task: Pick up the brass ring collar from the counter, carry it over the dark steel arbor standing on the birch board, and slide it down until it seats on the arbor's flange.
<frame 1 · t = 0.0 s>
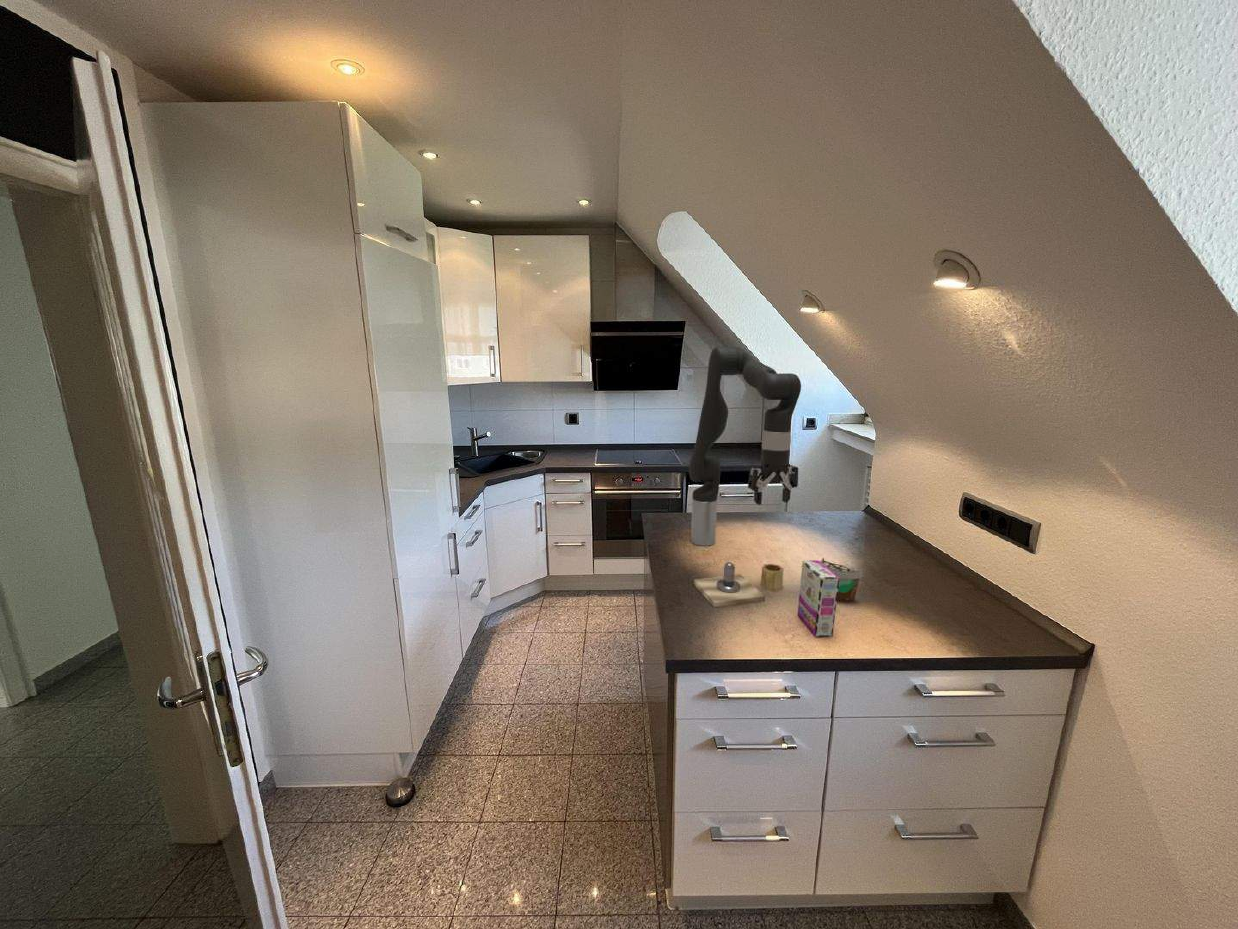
hand: (771, 503, 137), 29 cm above the countertop, fingers open, 8 cm apart
collar: (771, 585, 151), on the countertop
candy bar box: (814, 626, 129), on the countertop
board: (728, 592, 147), on the countertop
food container: (833, 598, 144), on the countertop
arbor: (728, 575, 145), on the board, point 6 cm above the countertop
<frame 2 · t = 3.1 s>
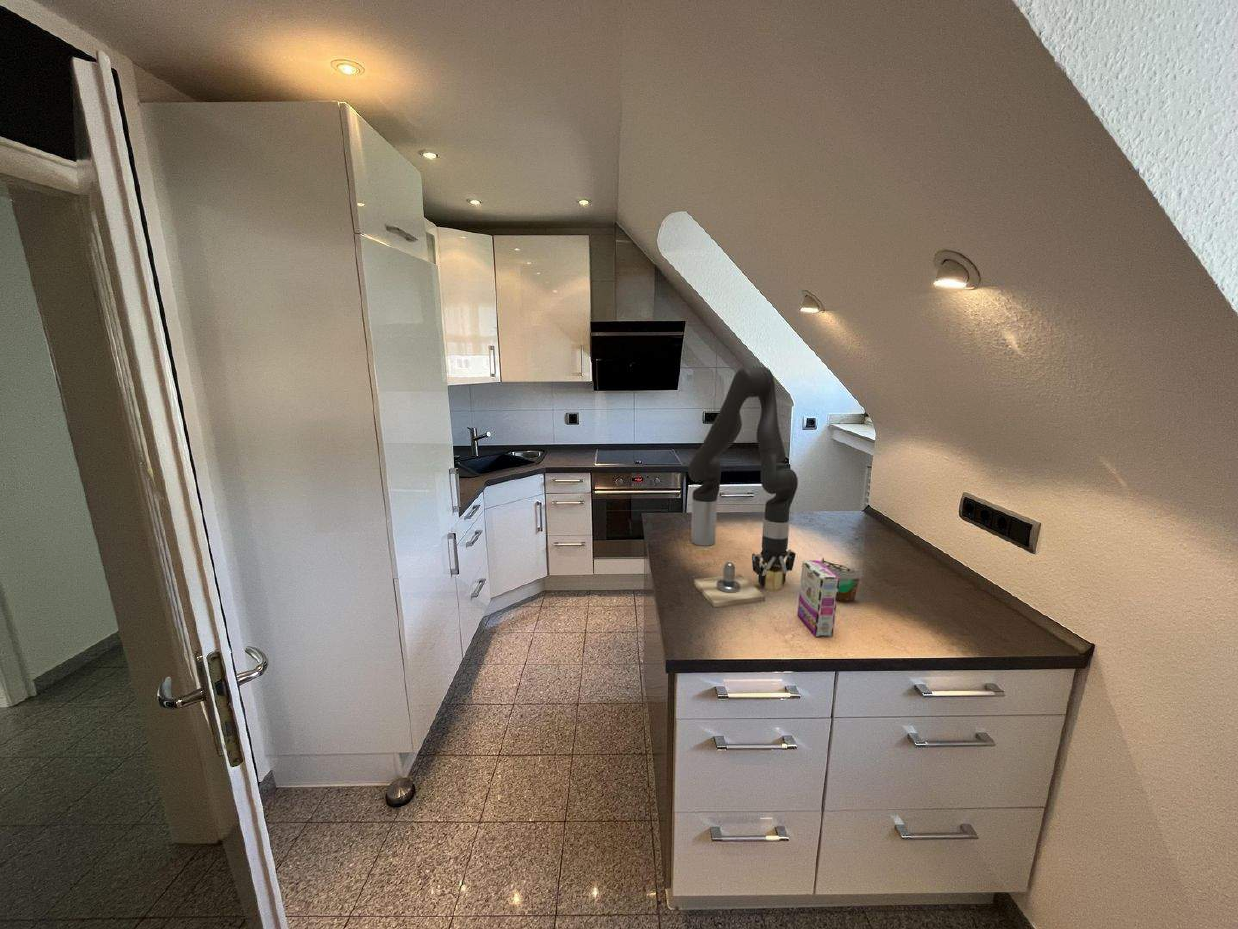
hand: (771, 584, 150), 1 cm above the countertop, fingers closed on collar, 6 cm apart
collar: (771, 585, 151), on the countertop, touching gripper
everything else where it was.
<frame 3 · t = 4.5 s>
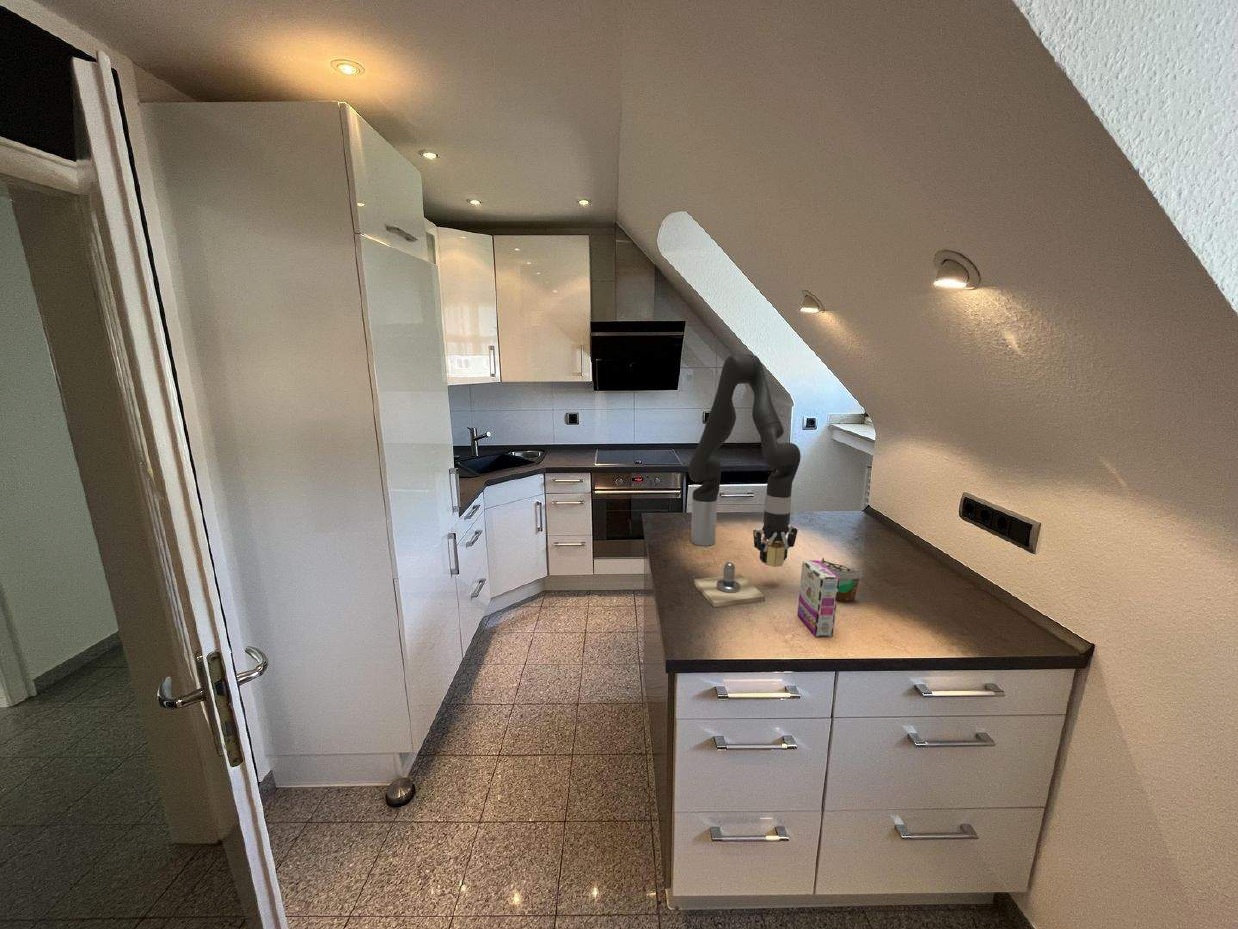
hand: (772, 560, 149), 8 cm above the countertop, fingers closed on collar, 6 cm apart
collar: (772, 562, 149), point 8 cm above the countertop, touching gripper
everything else where it was.
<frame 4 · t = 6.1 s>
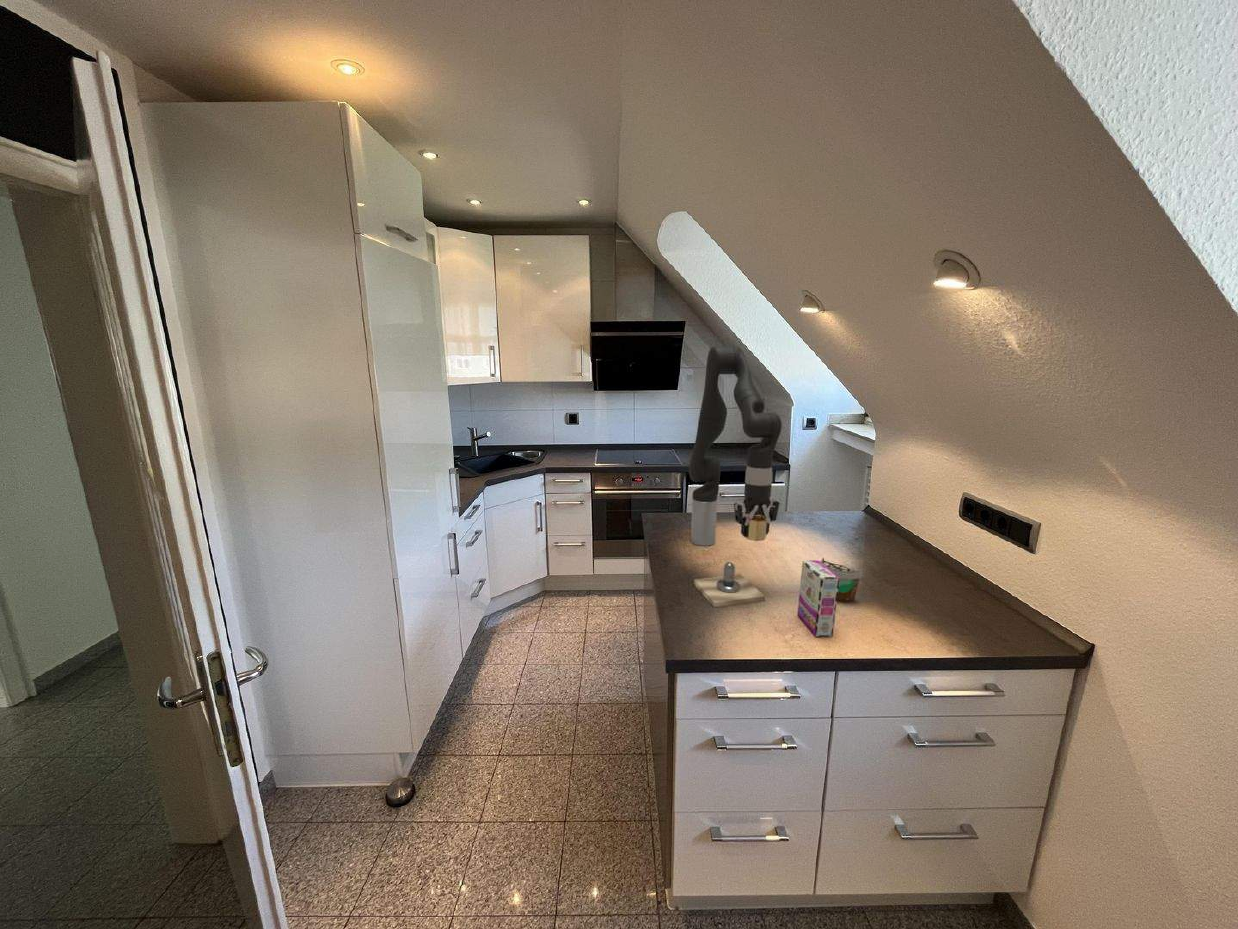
hand: (754, 535, 145), 18 cm above the countertop, fingers closed on collar, 6 cm apart
collar: (754, 537, 145), point 17 cm above the countertop, touching gripper
everything else where it was.
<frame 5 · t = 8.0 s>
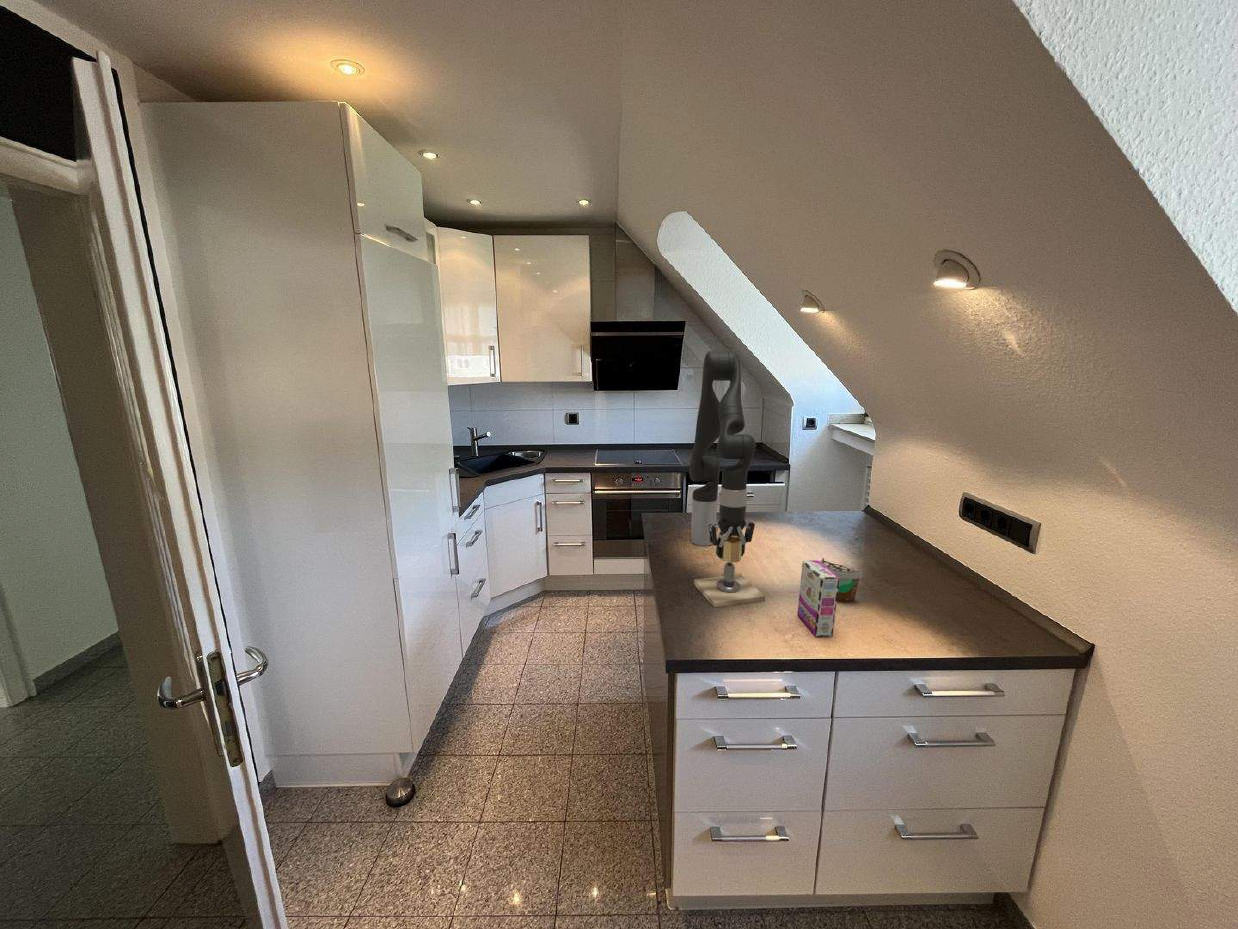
hand: (730, 556, 144), 12 cm above the countertop, fingers closed on collar, 6 cm apart
collar: (730, 558, 144), point 11 cm above the countertop, touching gripper
everything else where it was.
when the fingers open (8 cm above the countertop, at t = 9.5 s): collar drops 4 cm, resting on arbor.
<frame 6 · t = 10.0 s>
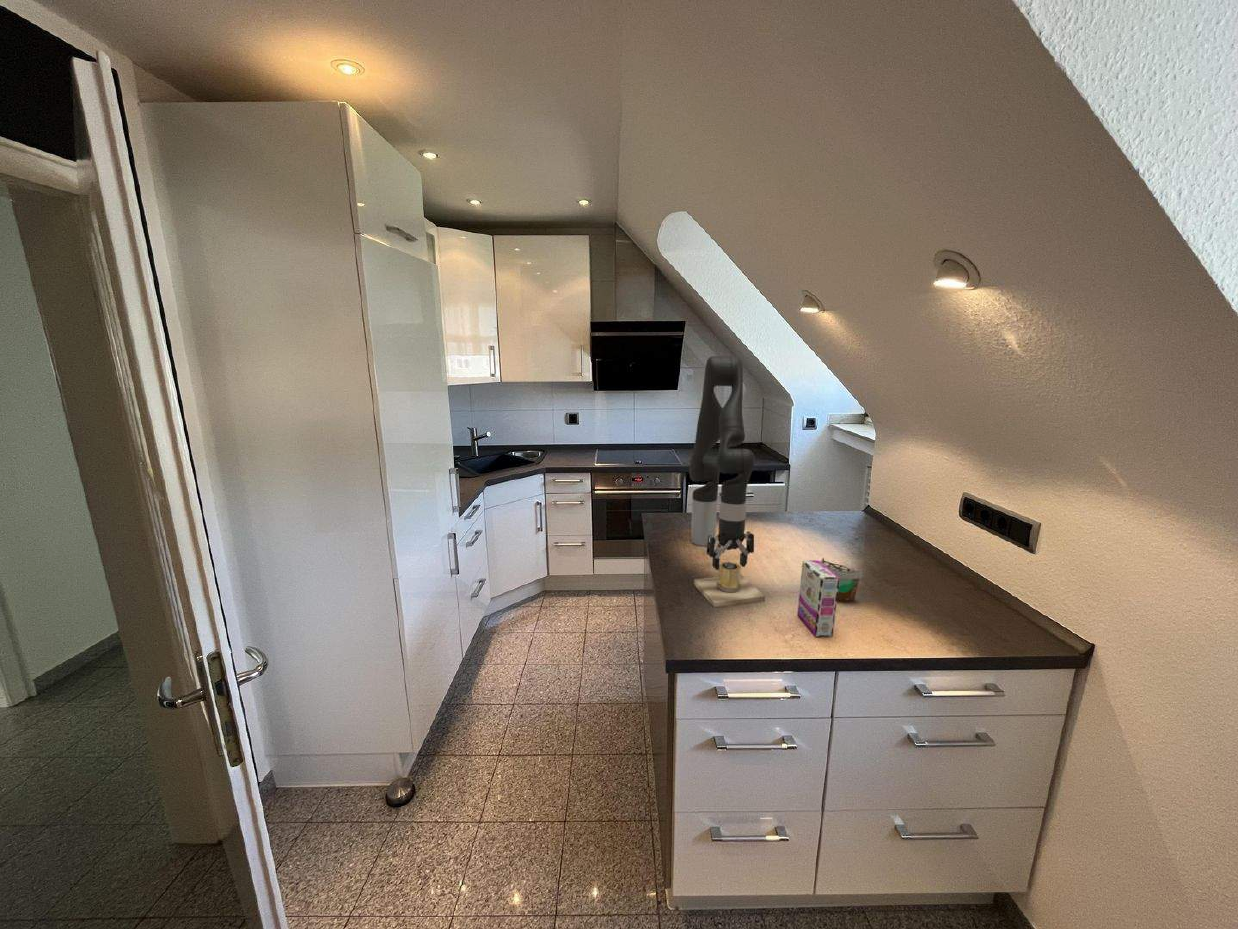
hand: (729, 567, 145), 8 cm above the countertop, fingers open, 8 cm apart
collar: (728, 584, 146), point 2 cm above the countertop, touching arbor
everything else where it was.
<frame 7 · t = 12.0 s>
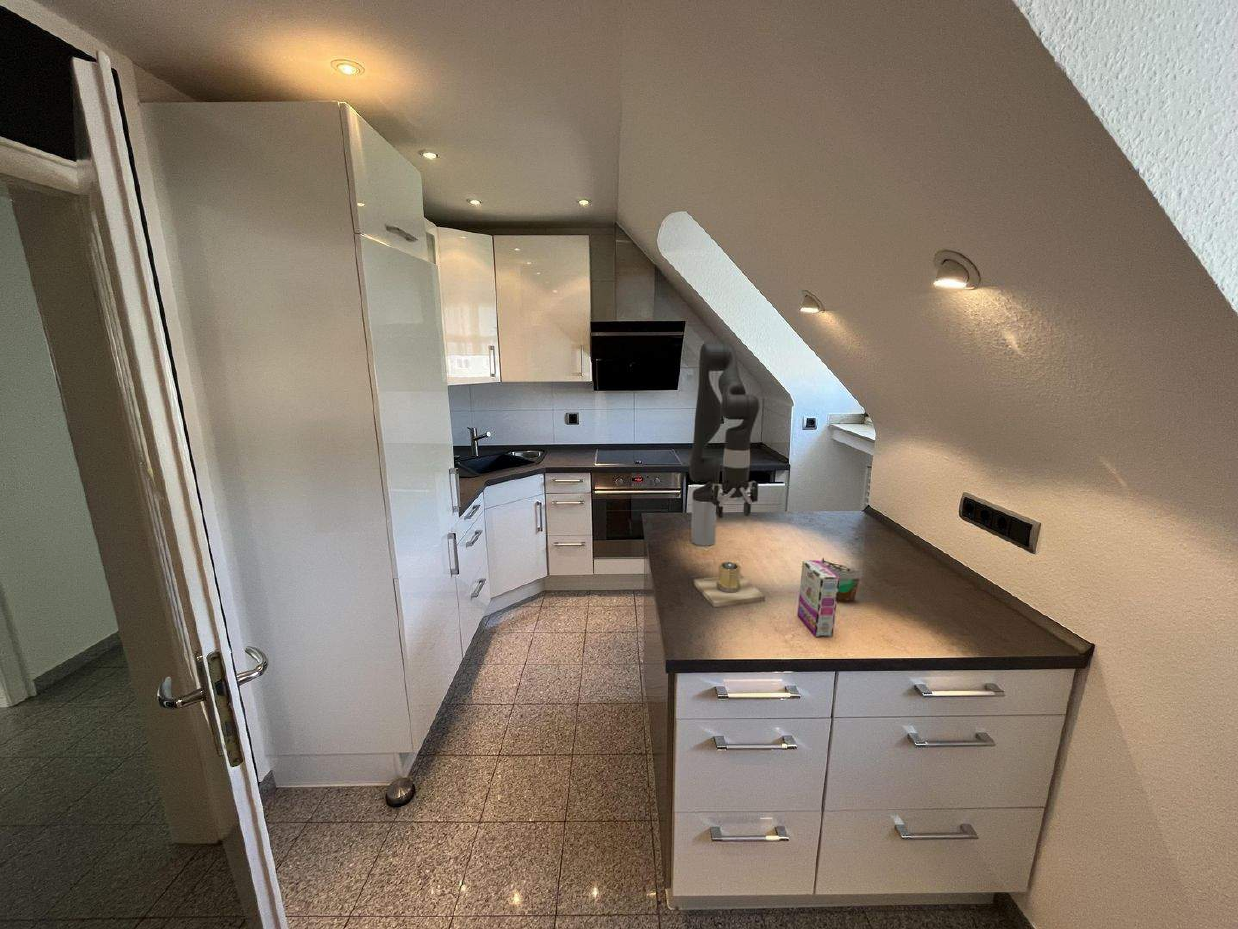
hand: (732, 516, 144), 23 cm above the countertop, fingers open, 8 cm apart
nothing on the countertop moved.
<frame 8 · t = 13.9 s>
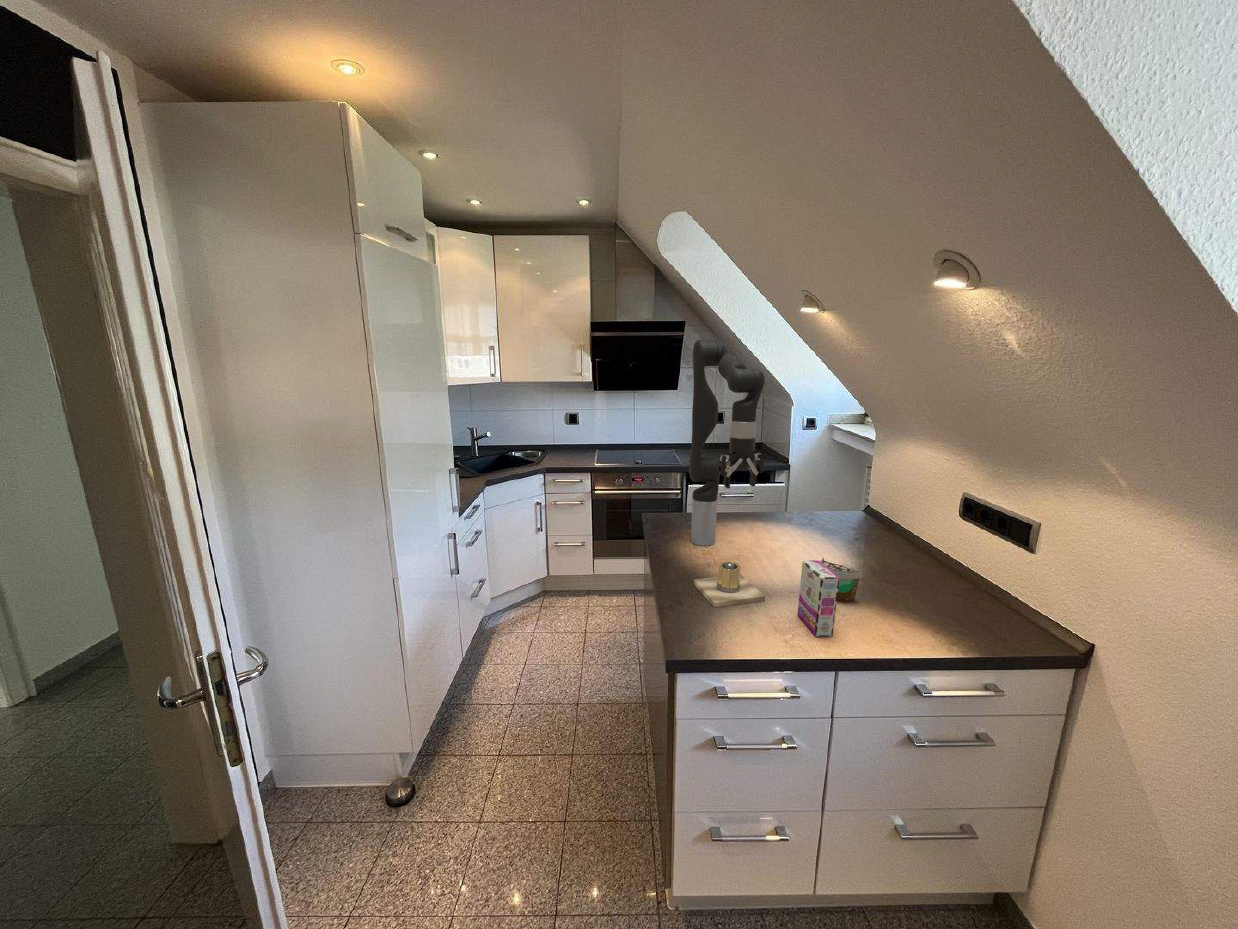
hand: (739, 486, 151), 30 cm above the countertop, fingers open, 8 cm apart
nothing on the countertop moved.
at the end: collar 0.1 cm off-centre on the arbor, point 2.5 cm above the arbor's base; collar tilted 0°; the gripper is holding nothing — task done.
